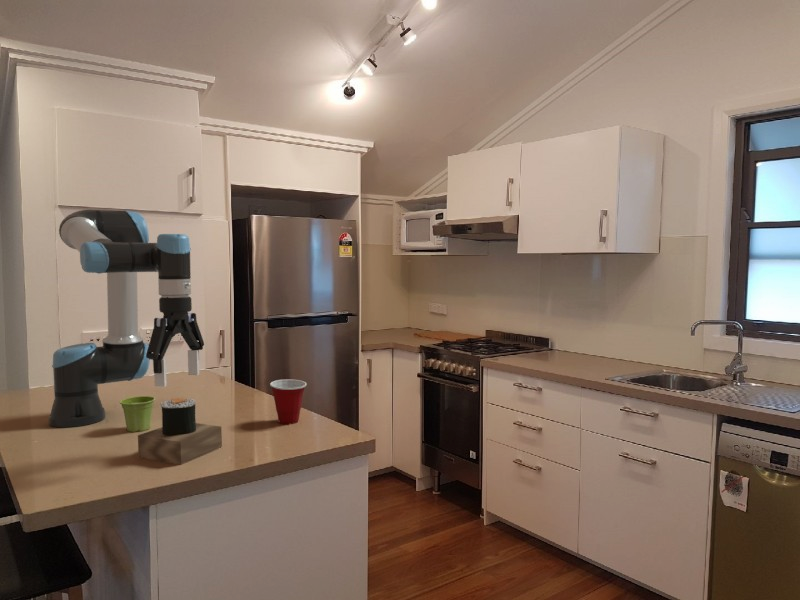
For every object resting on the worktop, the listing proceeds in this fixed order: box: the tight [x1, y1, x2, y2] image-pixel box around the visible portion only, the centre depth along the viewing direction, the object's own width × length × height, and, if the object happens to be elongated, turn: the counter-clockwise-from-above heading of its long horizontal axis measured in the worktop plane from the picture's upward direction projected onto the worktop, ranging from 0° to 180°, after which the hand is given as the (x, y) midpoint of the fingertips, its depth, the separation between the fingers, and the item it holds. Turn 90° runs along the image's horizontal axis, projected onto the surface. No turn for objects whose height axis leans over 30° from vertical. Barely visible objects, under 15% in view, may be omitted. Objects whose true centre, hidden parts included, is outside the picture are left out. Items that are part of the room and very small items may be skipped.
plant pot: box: [119, 395, 156, 433], centre depth 168 cm, size 9×9×9 cm
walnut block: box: [137, 422, 223, 466], centre depth 146 cm, size 14×14×6 cm
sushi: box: [160, 397, 197, 435], centre depth 146 cm, size 8×8×8 cm
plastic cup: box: [269, 378, 308, 425], centre depth 173 cm, size 11×11×12 cm
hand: (178, 380), depth 145 cm, fingers open, 13 cm apart
